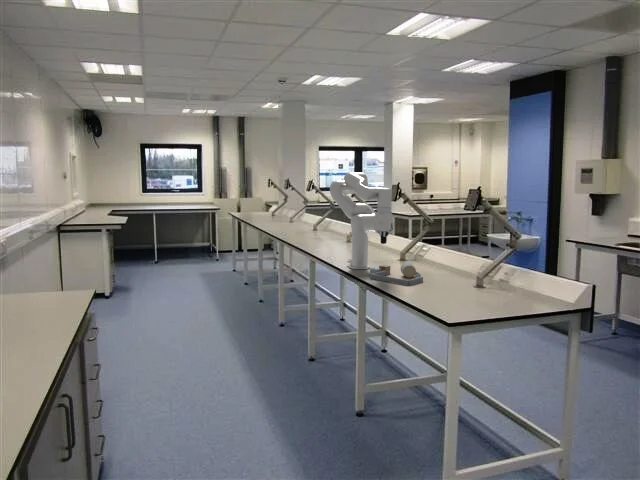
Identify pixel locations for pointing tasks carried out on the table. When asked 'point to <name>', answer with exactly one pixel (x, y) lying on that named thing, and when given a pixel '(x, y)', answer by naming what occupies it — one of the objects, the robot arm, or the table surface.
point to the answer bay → (395, 280)
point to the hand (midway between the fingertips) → (383, 243)
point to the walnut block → (385, 268)
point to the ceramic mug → (409, 270)
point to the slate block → (374, 270)
